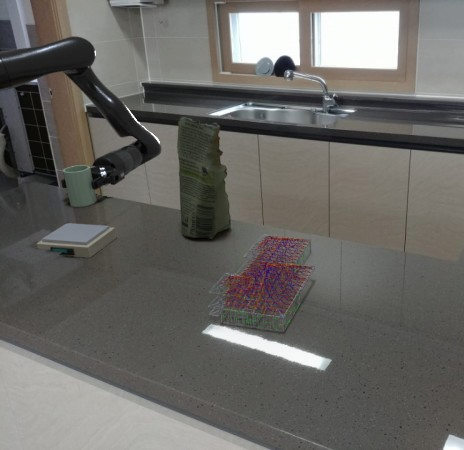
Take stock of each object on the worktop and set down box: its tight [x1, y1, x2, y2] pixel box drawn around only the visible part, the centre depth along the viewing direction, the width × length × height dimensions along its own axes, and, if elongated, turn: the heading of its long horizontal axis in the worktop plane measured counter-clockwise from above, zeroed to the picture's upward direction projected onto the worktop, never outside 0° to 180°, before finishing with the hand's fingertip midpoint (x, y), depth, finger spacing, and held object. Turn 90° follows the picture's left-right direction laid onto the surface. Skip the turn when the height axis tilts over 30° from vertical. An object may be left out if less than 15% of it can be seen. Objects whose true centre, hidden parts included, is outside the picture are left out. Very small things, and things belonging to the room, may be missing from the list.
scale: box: [36, 222, 118, 259], centre depth 113 cm, size 12×10×3 cm
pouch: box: [176, 116, 232, 240], centre depth 112 cm, size 11×12×25 cm
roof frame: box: [207, 234, 316, 333], centre depth 94 cm, size 30×15×5 cm, turn 162°
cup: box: [62, 164, 98, 208], centre depth 133 cm, size 6×6×10 cm
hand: (78, 185), depth 132 cm, fingers open, 8 cm apart
